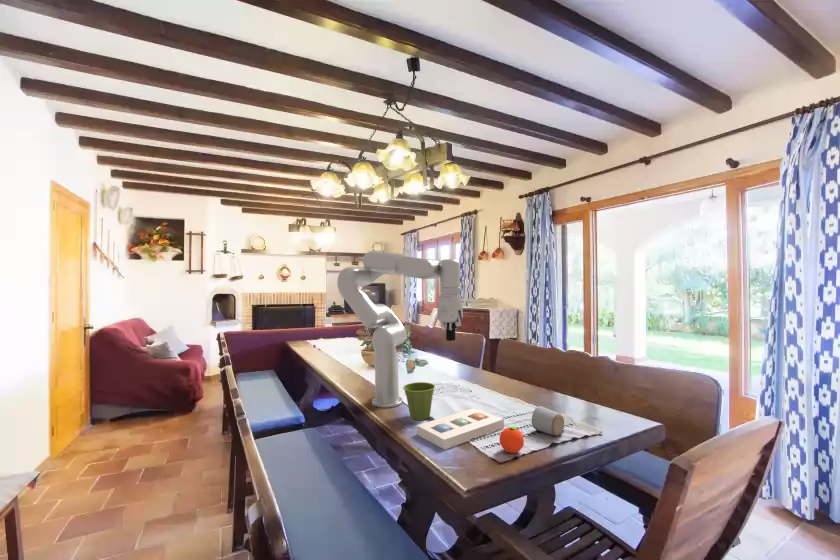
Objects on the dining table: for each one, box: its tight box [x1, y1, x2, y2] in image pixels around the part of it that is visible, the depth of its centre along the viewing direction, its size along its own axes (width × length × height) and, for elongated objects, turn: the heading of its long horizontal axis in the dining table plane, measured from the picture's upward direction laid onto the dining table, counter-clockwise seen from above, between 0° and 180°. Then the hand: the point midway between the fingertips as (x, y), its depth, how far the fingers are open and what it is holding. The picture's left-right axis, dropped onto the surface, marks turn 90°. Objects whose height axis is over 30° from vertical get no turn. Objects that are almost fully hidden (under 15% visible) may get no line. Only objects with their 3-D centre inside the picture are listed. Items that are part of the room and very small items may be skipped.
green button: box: [454, 418, 468, 427], centre depth 127 cm, size 5×5×3 cm
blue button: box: [435, 424, 450, 433], centre depth 122 cm, size 5×5×3 cm
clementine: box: [499, 425, 525, 454], centre depth 112 cm, size 8×7×7 cm
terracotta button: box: [471, 413, 485, 421], centre depth 132 cm, size 5×5×3 cm
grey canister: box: [531, 405, 566, 437], centre depth 126 cm, size 11×8×8 cm
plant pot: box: [402, 381, 436, 421], centre depth 140 cm, size 12×12×11 cm
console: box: [416, 407, 505, 450], centre depth 127 cm, size 14×26×3 cm, turn 126°
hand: (450, 340), depth 145 cm, fingers closed
